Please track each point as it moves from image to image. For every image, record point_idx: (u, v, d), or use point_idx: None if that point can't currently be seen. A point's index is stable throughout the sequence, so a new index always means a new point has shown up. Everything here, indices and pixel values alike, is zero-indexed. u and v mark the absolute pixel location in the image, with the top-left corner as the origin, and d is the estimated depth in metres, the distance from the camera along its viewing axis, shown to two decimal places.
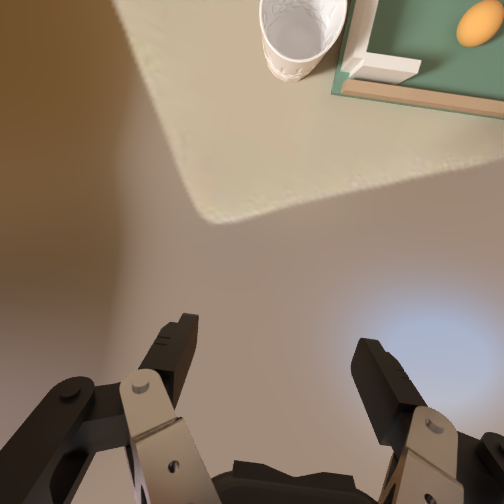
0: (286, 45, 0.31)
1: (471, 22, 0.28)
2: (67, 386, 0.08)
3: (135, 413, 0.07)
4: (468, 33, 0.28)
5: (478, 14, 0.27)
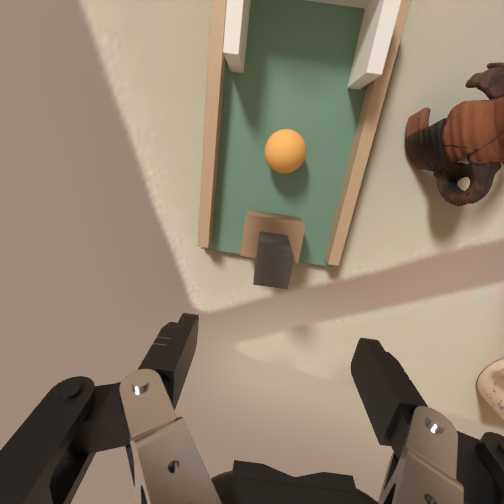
0: None
1: (283, 132, 0.23)
2: (67, 386, 0.08)
3: (135, 413, 0.07)
4: (274, 135, 0.24)
5: (290, 136, 0.23)
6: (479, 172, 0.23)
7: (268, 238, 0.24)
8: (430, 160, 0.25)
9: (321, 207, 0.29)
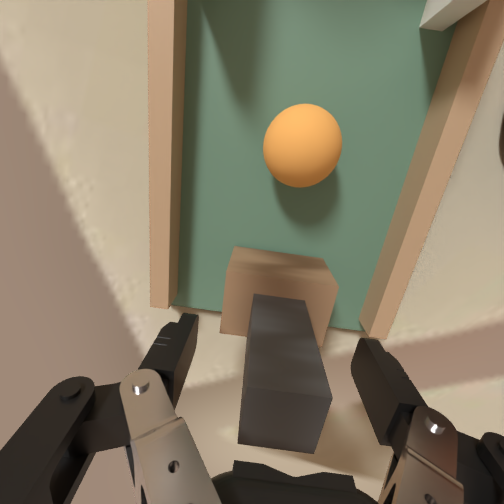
0: None
1: (301, 109, 0.12)
2: (66, 386, 0.08)
3: (135, 413, 0.07)
4: (282, 114, 0.12)
5: (314, 115, 0.12)
6: None
7: (270, 319, 0.12)
8: None
9: (358, 242, 0.17)
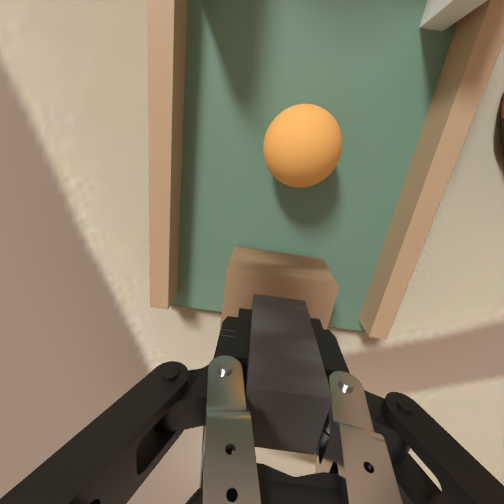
0: None
1: (301, 109, 0.12)
2: (169, 367, 0.09)
3: (230, 392, 0.08)
4: (282, 114, 0.12)
5: (314, 115, 0.12)
6: None
7: (270, 319, 0.12)
8: None
9: (358, 242, 0.17)
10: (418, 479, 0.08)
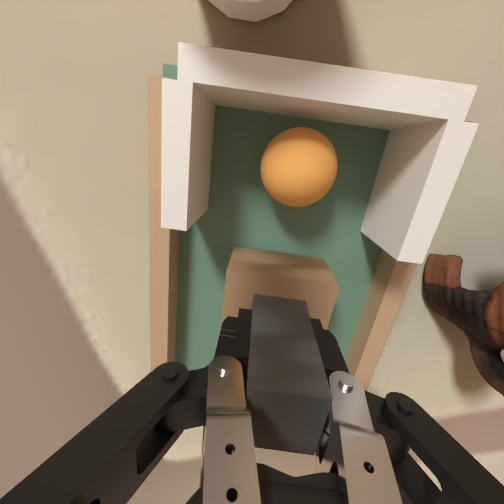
0: None
1: (286, 197, 0.13)
2: (169, 367, 0.09)
3: (230, 392, 0.08)
4: (271, 187, 0.13)
5: (296, 204, 0.13)
6: None
7: (269, 319, 0.12)
8: (462, 325, 0.17)
9: None
10: (418, 479, 0.08)
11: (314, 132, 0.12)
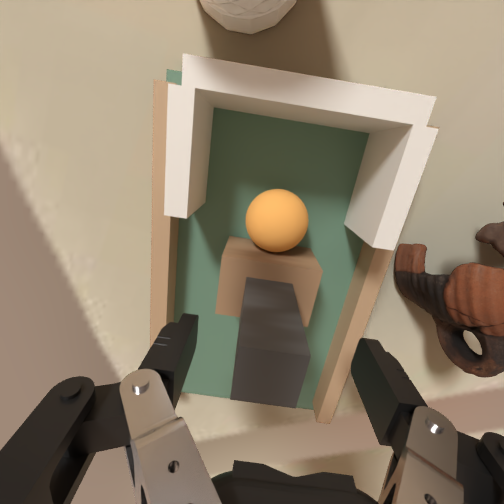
0: None
1: None
2: (67, 386, 0.08)
3: (135, 413, 0.07)
4: None
5: None
6: (495, 346, 0.16)
7: (260, 297, 0.13)
8: (428, 308, 0.19)
9: None
10: None
11: (280, 246, 0.15)
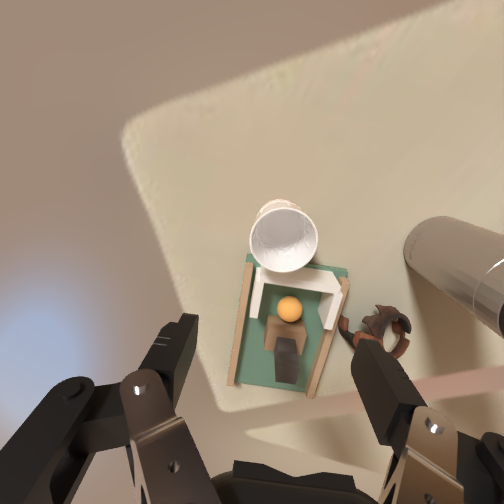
0: (280, 218, 0.37)
1: None
2: (67, 386, 0.08)
3: (135, 413, 0.07)
4: None
5: None
6: None
7: (283, 347, 0.38)
8: (351, 345, 0.43)
9: (303, 363, 0.47)
10: None
11: (292, 319, 0.39)
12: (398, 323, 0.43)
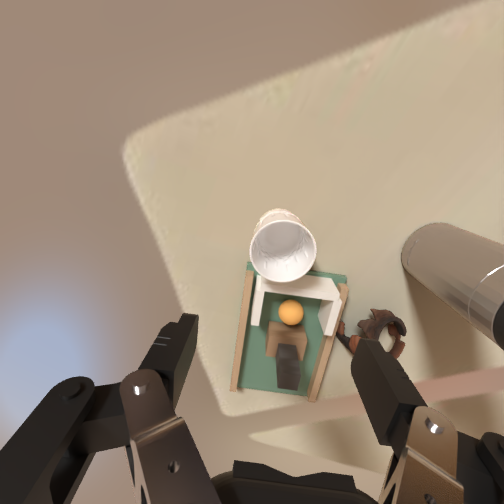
0: (279, 227, 0.38)
1: None
2: (66, 386, 0.08)
3: (135, 413, 0.07)
4: None
5: None
6: None
7: (284, 353, 0.39)
8: (348, 348, 0.44)
9: (304, 368, 0.48)
10: None
11: (294, 319, 0.40)
12: (394, 326, 0.43)
